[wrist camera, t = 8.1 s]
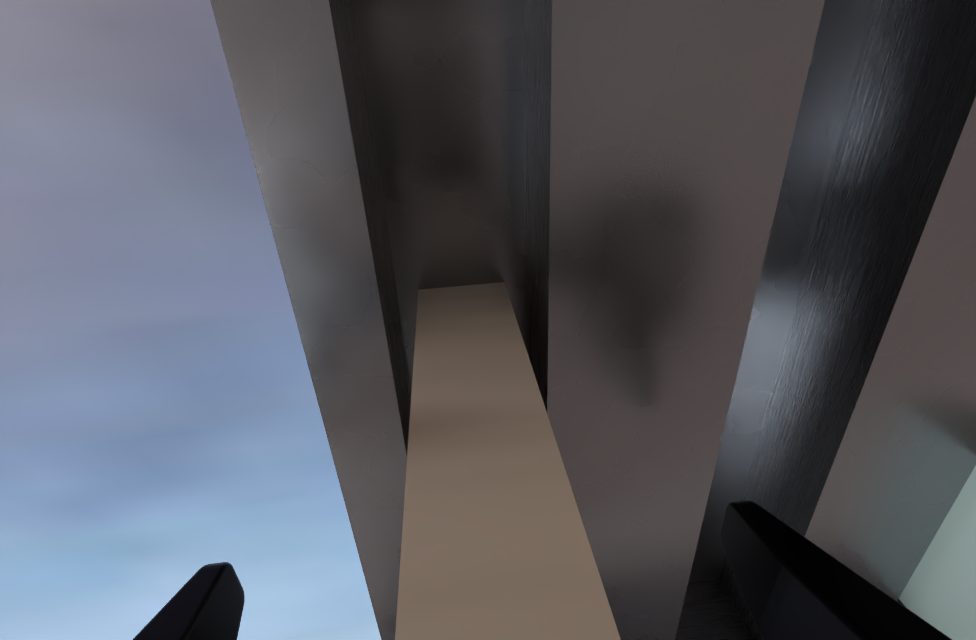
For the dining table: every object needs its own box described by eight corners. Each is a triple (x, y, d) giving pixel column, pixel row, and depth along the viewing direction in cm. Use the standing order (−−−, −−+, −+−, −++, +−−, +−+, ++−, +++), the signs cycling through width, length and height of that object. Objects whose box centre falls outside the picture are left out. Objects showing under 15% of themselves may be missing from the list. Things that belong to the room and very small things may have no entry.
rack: (898, 555, 20) (1107, 775, 14) (410, 618, 19) (398, 892, 12) (1292, -174, 10) (2867, -609, 3) (248, -147, 8) (-307, -779, 2)
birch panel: (511, 470, 14) (611, 989, 6) (443, 478, 14) (456, 1018, 6) (504, 282, 11) (670, 793, 3) (418, 289, 11) (382, 840, 3)
